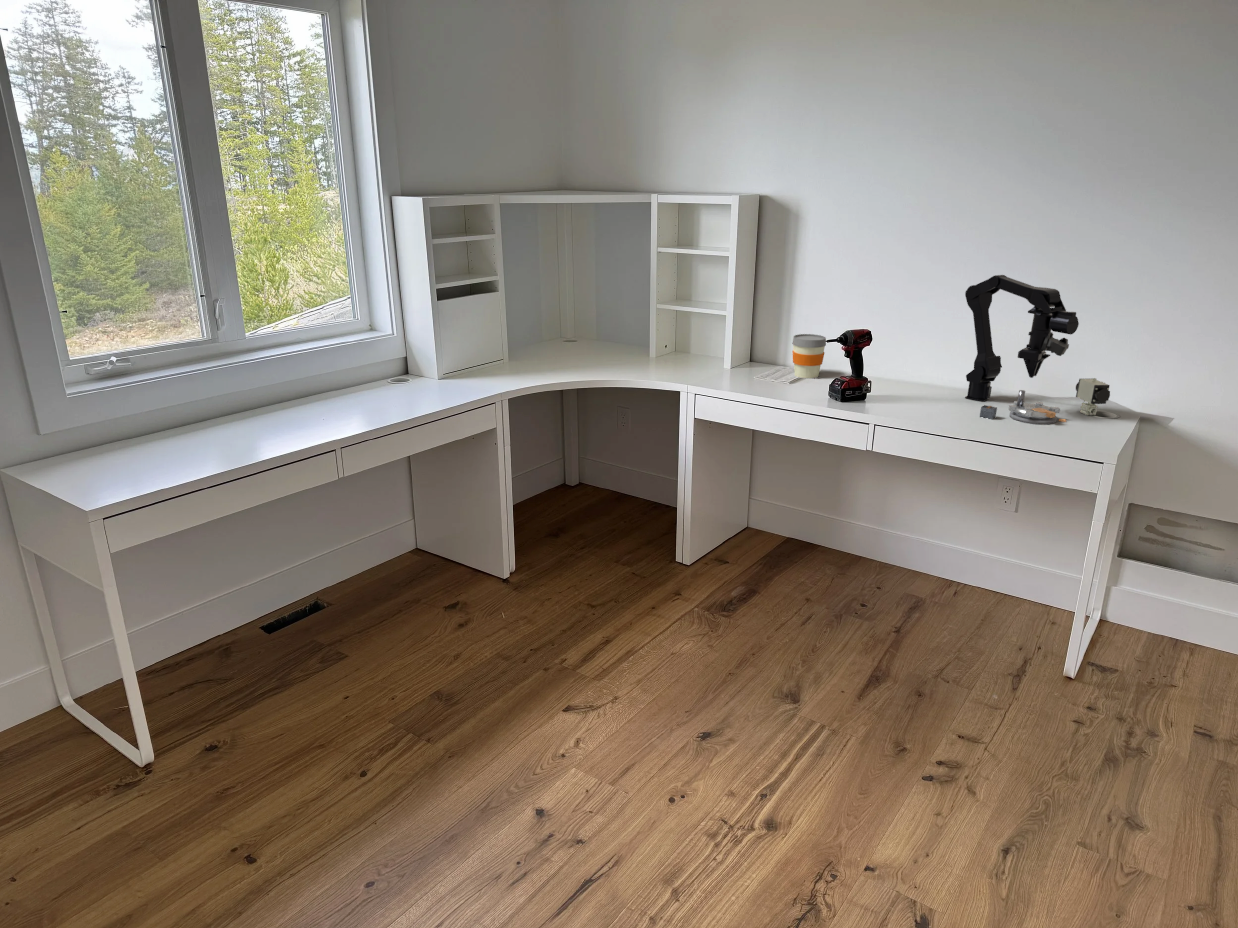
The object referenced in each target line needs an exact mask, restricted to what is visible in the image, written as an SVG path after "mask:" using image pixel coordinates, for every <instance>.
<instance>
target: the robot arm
mask: <svg viewBox="0 0 1238 928" xmlns="http://www.w3.org/2000/svg"><path fill="white" fill-rule="evenodd" d="M1000 290H1002V291H1003V292H1007V293H1010V294H1012V295H1015V296H1017V297H1021V298H1024V299H1025V300H1027V302H1028V303H1029V304H1031V305H1032V306H1033V307H1032V308H1031V309H1029V310H1028V311H1027V313H1028V314H1032V315H1033V318H1032V323H1031V329H1030V331H1029V332H1028V336H1029V340H1028V343H1027V344H1026V346H1025V347H1024V348H1022V349H1020V350H1019V351H1018V352H1017V358H1018V359H1023V362H1024V364H1025V368H1026V370H1027V374H1028V376H1029V378H1031V379H1033V378H1034V377H1036V376H1037V375H1038V373H1039V371H1040V369H1041V366H1042V364H1043V363H1044V361H1045V360H1046V359H1048V358H1049V357H1051V354H1055V356H1059V357H1061V356H1062V355H1065V353H1066V351H1067V350H1068V349H1069V347H1070V344H1069V339H1068V338H1067V337H1066V338H1065V337H1062V338H1060V339H1058V338H1055V337H1054V333H1059V334H1060V333H1061V334H1066V335H1070V336H1071V335H1073V334H1074V333H1075V332H1076V331H1077V330H1078V328H1079V325H1080V323H1079V319H1078V317H1077V312H1076V311H1067V309H1066V307H1065V305H1064V302H1063V300H1062V297H1061V294H1060V291H1059V290H1058V289H1056V288H1051V287H1050V288H1049V287H1041V286H1039V287H1038V286H1033V285H1031V284H1029V283H1026V282H1025V283H1024V282H1022V281H1019V280H1017V279H1014V278H1011V277H1008V276H1007V275H1005V274H997V275H993V276H991V277H990V278H987V279H986V280H983V281H981V282H979V283H976V284H973V285H970V286H968V288H967V289H966V290H965V292H964V295H965V299H966V304H967V306H968V308H970V310H971V312H972V314H973V326H974V335H975V341H976V342H975V343H976V351H977V353H976V357H975V359H974V362H973V369H972V370H971V371H970V372H968V373H967V374H966V375H965V378H966V382H968V389H967V395H966V396H965V399H968V400H975V401H979V402H986V401H987V400H989V399H991V394H992V387H993V386H991V385H992V382H995V380H996V378H997V377H998V376H999V375H1000V373H1001V370H1002V369H1001V368H1003V366H1002V362H1001V361H1002V357H1001V355H996V354H995V352H994V349H993V340H992V339H993V338H992V330H991V329H992V328H991V321H990V313H989V312H990V308H991V305H992V301H993V295H995V294H996V293H998V292H999V291H1000ZM1053 332H1054V333H1053ZM1047 352H1050V353H1051V354H1047Z"/></svg>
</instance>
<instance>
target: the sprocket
mask: <svg viewBox="0 0 1238 928" xmlns="http://www.w3.org/2000/svg"><path fill="white" fill-rule="evenodd" d="M1025 395H1026V390H1025V389H1019V390H1018V395H1017V400H1014V401H1013V404H1009V405H1008V411H1009V412H1011V411H1013V413H1014V414H1015V415H1017V416H1020V417H1024V418H1028V419H1037V420H1048V419H1052V418H1054V417H1055V416H1056V415H1057V414H1060V411H1061V408H1060V407H1059V406H1047V405H1044V402H1042V401H1036V402H1035V403H1027V402H1026V403H1025V402H1024V401H1025Z"/></svg>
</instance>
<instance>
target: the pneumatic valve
mask: <svg viewBox="0 0 1238 928" xmlns="http://www.w3.org/2000/svg"><path fill="white" fill-rule="evenodd" d="M1075 391H1076V395H1075V397H1076V398H1078V399H1080V400H1082V401H1083V402H1082V403H1081V406H1080V411H1079V412H1080V413H1081V414H1082V415H1084V416H1096V414H1097V412H1098V410H1097V408H1098V405H1106V404H1107V401H1109V399H1110V396H1111V391H1110V384H1107V383H1106V382H1104V381H1100V380H1097V378H1095V377H1094V378H1093V377H1092V378H1079V379H1078V382H1077V383H1076V385H1075Z"/></svg>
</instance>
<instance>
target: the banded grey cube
mask: <svg viewBox="0 0 1238 928" xmlns="http://www.w3.org/2000/svg"><path fill="white" fill-rule="evenodd" d="M997 410H998V407H995V406H993V405H985V404H984V405H982V406H981V407H980V413H979V418H981V417H983V419H986V418H988V420H994V419H996V418H995V417H996V416H997Z"/></svg>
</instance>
